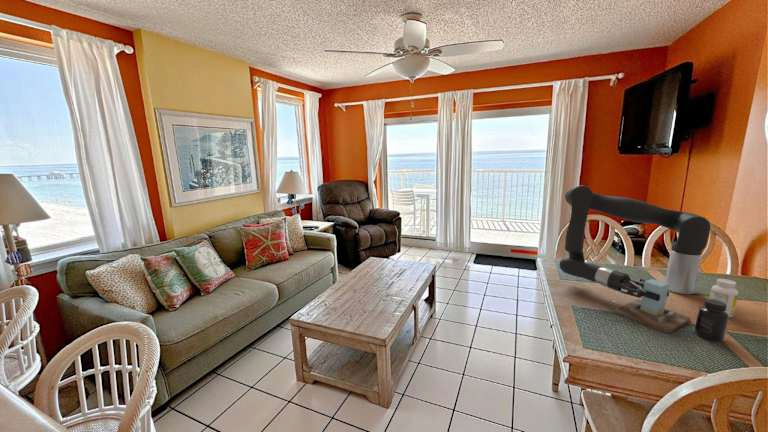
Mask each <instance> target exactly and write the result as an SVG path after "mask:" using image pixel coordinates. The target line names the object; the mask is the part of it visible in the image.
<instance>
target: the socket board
mask: <svg viewBox="0 0 768 432" xmlns="http://www.w3.org/2000/svg"><path fill="white" fill-rule="evenodd" d="M641 301H642V299H640V298H638V299H635V300H633V301H631V302H628V303H626V304H623V305H621V306H618V307H616V308H615V309H614V313H616V314H618V313H619V315H621V314H622V315H621V316H623V315H625V316H624V317H626V316H627V317H626V318H628V317H629V319H631V318H632V319H631V320H633V319H634V321H635V320H636V321H635V322H638V323H640V324H643V325H646V326H648V327H650V328H652V329H655V330H658V331H660V332H662V333H665V334H666V335H667V334H669V333H671V332H673V331H674V330H677V329H678V327H679V328H680V327H683V326H684V325H685V324H688V323H689V322H691V320H692V319H691V317H689V316H687V315H684V314H681V313H677V312H675V311H673V310H670V309H668V308H665V309H664V315H662V316H660V317H658V316H655V315H653V314H650V313H647V312H645V311H642V310H640V308H641Z"/></svg>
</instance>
